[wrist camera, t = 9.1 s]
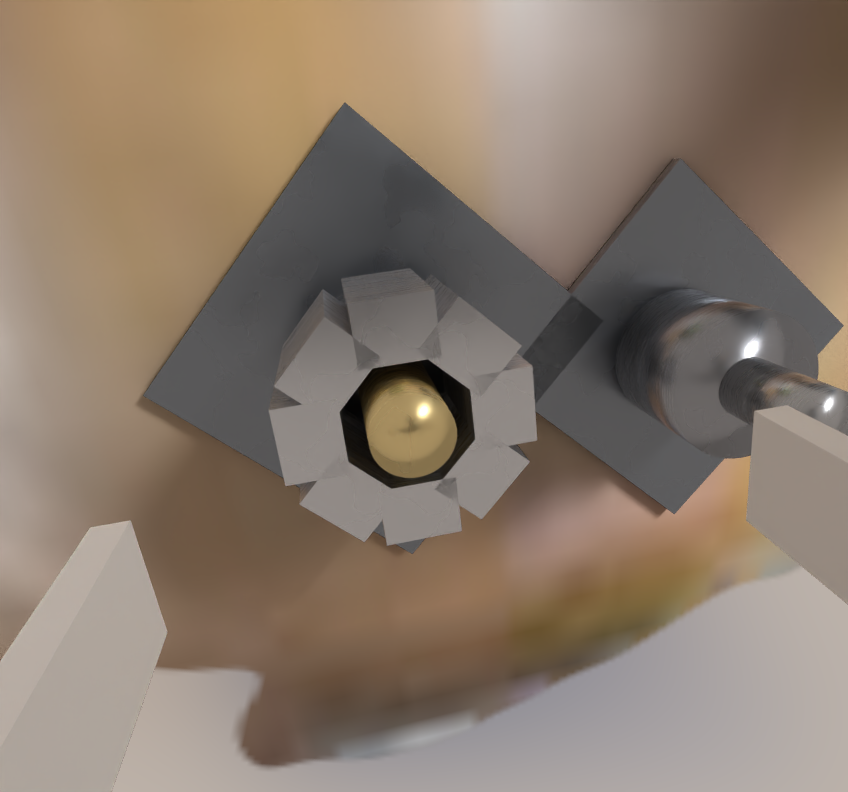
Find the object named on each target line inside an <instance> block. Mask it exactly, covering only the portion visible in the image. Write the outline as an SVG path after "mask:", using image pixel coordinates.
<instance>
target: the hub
mask: <svg viewBox="0 0 848 792" xmlns="http://www.w3.org/2000/svg"><path fill="white" fill-rule="evenodd" d="M408 268H410V269H411V270H412V271H414V272H415V273H416V274H417V275H418V276H419V277H420V278H421V279H422V280H425V279H426V278H427V276H428V275H429V274H431V275H432V276H434V277H435V278H436V279H437V280H439V281H440V282H441V283H443V284H444V285H445V286H446V287H448V288H449V289H450V290H452V291H453V292H454V293H455V294H457V295H458V296H459V297H461V298H462V299H463V300H464V301H466V302H467V303H468V304H469V305H471V306H472V307H473V308H475V309H476V310H477V311H478V312H480V313H481V314H482V315H484V316H485V317H486V318H487V319H489V320H490V321H491V322H492V323H494V324H495V325H496V326H498V327H499V328H500V329H501V330H503V331H504V332H505V333H506V334H508V335H509V336H510V337H511V338H513V339H514V340H515V341H517V342H518V343H519V344H520V345H522V346H521V348H520V349H519V350H518V351H517V353H518V354H519V355H520V356H521V357H522V358H524V357H523V356H524V354H525V357H526V351H527V352H528V351H530V350H531V349H532V348H533V347H534V349H535V350H536V351H538V349H539V347H540V346H541V344H542V345H543V343H544V341H545V339H546V338H543V335H545V336H544V337H546V336H547V335H546V334H544V333H543V335H542V337H541V336H540V335H541V334H540V333H542V332H543V331H545V333H546V332H547V331H546V329H547V328H548V327H549V326H550V325H548V324H549V323H550V321H551V320H552V318H554V319H555V318H556V317H558V316H559V315H560V314H562V313H561V312H560V314H559V315H558V313H559V312H558V311H559V309H560V310H561V311H563V314H564V316H565V312H567V313H568V309H567V308H569V307H570V306H569V307H567V308H566V305H565V304H567V306H568V305H570V304H572V303H571V302H572V301H573V299H572V298H571V297H572V294H571V293H570V292H568V291H567V290H566V289H565V288H564V287H562V286H561V285H560V284H559V283H558V282H557V281H555V280H554V279H553V278H552V277H551V276H549V275H548V274H547V273H546V272H545V271H544V270H542V269H541V268H540V267H539V266H538V265H536V264H535V263H534V262H533V261H532V260H531V259H529V258H528V257H527V256H526V255H525V254H523V253H522V252H521V251H520V250H519V249H518V248H516V247H515V246H514V245H513V244H512V243H510V242H509V241H508V240H507V239H506V238H505V237H503V236H502V235H501V234H500V233H499V232H497V231H496V230H495V229H494V228H493V227H492V226H490V225H489V224H488V223H487V222H486V221H484V220H483V219H482V218H481V217H480V216H479V215H477V214H476V213H475V212H474V211H473V210H471V209H470V208H469V207H468V206H467V205H465V204H464V203H463V202H462V201H461V200H460V199H458V198H457V197H456V196H455V195H454V194H452V193H451V192H450V191H449V190H448V189H447V188H445V187H444V186H443V185H442V184H441V183H439V182H438V181H437V180H436V179H435V178H434V177H432V176H431V175H430V174H429V173H428V172H426V171H425V170H424V169H423V168H422V167H421V166H419V165H418V164H417V163H416V162H415V161H413V160H412V159H411V158H410V157H409V156H408V155H406V154H405V153H404V152H403V151H402V150H400V149H399V148H398V147H397V146H396V145H395V144H393V143H392V142H391V141H390V140H389V139H387V138H386V137H385V136H384V135H383V134H382V133H380V132H379V131H378V130H377V129H376V128H374V127H373V126H372V125H371V124H370V123H368V122H367V121H366V120H365V119H364V118H363V117H361V116H360V115H359V114H358V113H357V112H355V111H354V110H353V109H352V108H351V107H350V106H348V105H347V104H346V103H344V104H343V105H342V107H341V108H340V110H339V111H338V113H337V114H336V116H335V117H334V119H333V120H332V121H331V123H330V124H329V126H328V127H327V129H326V130H325V132H324V133H323V135H322V136H321V137H320V139H319V140H318V142H317V143H316V145H315V146H314V148H313V149H312V151H311V152H310V153H309V155H308V156H307V158H306V159H305V161H304V162H303V164H302V165H301V167H300V168H299V169H298V171H297V172H296V174H295V175H294V177H293V178H292V180H291V181H290V183H289V184H288V186H287V187H286V188H285V190H284V191H283V193H282V194H281V196H280V197H279V199H278V200H277V202H276V203H275V204H274V206H273V207H272V209H271V210H270V212H269V213H268V215H267V216H266V218H265V219H264V220H263V222H262V223H261V225H260V226H259V228H258V229H257V231H256V232H255V234H254V235H253V236H252V238H251V239H250V241H249V242H248V244H247V245H246V247H245V248H244V250H243V251H242V252H241V254H240V255H239V257H238V258H237V260H236V261H235V263H234V264H233V266H232V267H231V268H230V270H229V271H228V273H227V274H226V276H225V277H224V279H223V280H222V282H221V283H220V284H219V286H218V287H217V289H216V290H215V292H214V293H213V295H212V296H211V298H210V299H209V300H208V302H207V303H206V305H205V306H204V308H203V309H202V311H201V312H200V314H199V315H198V316H197V318H196V319H195V321H194V322H193V324H192V325H191V327H190V328H189V330H188V331H187V332H186V334H185V335H184V337H183V338H182V340H181V341H180V343H179V344H178V346H177V347H176V348H175V350H174V351H173V353H172V354H171V356H170V357H169V359H168V360H167V362H166V363H165V364H164V366H163V367H162V369H161V370H160V372H159V373H158V375H157V376H156V378H155V379H154V381H153V382H152V383H151V385H150V386H149V388H148V389H147V391H146V392H145V394H144V395H143V396H144V397H146V398H148V399H150V400H151V401H153V402H155V403H156V404H158V405H160V406H161V407H163V408H165V409H167V410H168V411H170V412H172V413H173V414H175V415H177V416H178V417H180V418H182V419H184V420H185V421H187V422H189V423H190V424H192V425H194V426H195V427H197V428H199V429H201V430H202V431H204V432H206V433H207V434H209V435H211V436H212V437H214V438H216V439H218V440H219V441H221V442H223V443H224V444H226V445H228V446H229V447H231V448H233V449H235V450H236V451H238V452H240V453H241V454H243V455H245V456H246V457H248V458H250V459H252V460H253V461H255V462H257V463H258V464H260V465H262V466H263V467H265V468H267V469H269V470H270V471H272V472H274V473H275V474H277V475H279V476H280V477H282V478H283V473H282V469H281V464H280V460H279V455H278V450H277V446H276V441H275V437H274V432H273V428H272V423H271V419H270V414H269V406H270V402H271V397H272V392H273V388H274V383H275V378H276V374H277V369H278V365H279V360H280V355H281V351H282V346H283V344H284V342H285V341H286V340H287V338H288V337H289V335H290V334H291V333H292V331H293V330H294V328H295V327H296V326H297V324H298V323H299V322H300V320H301V319H302V317H303V316H304V315H305V313H306V312H307V310H308V309H309V308H310V306H311V305H312V304H313V302H314V301H315V299H316V298H317V297H318V295H319V294H320V292H321V291H322V290H325V291H326V292H328V293H329V294H330V295H332V296H333V297H335V298H336V299H337V300H339V301H340V302H342V303H343V304H344V305H345V300H344V294H343V288H342V281H341V278H346V277H353V276H360V275H366V274H373V273H380V272H387V271H394V270H401V269H408ZM568 298H569V299H568ZM570 298H571V300H572V301H571V302H569V303H570V304H568V301H570ZM575 300H576V298H575V299H574V301H575ZM566 301H567V302H566ZM574 301H573V303H575V302H576V301H575V302H574ZM577 301H579V300H577ZM565 302H566V303H565ZM579 302H580V301H579ZM579 302H578V303H579ZM564 303H565V304H564ZM578 303H575V304H576V305H578ZM563 304H564V305H565V309H567V311H565V312H564V308H562V306H564V305H563ZM575 304H574V305H575ZM579 304H582V305H584V304H583V303H579ZM572 305H573V304H572ZM572 305H571V306H572ZM573 307H574V306H572V308H573ZM575 307H576V308H578V306H575ZM575 307H574V308H573V309H572V310H569V313H570V312H572V311H573V312H574V313H575V312H576V311H578V313H579V312H580V309H581V310H583V311H585V310H584V309H583V308H584V307H586V306H584V307H583V306H580V307H579V308H580V309H579V310H578V309H575ZM581 307H583V308H581ZM569 309H571V307H570V308H569ZM585 309H586V310H587V309H588V308H585ZM574 310H576V311H574ZM583 311H582V313H583ZM588 311H589V312H588V313H589V314H590V315H591V313H592V312H591V311H590V310H588ZM557 312H558V313H557ZM573 312H572V313H571V314H572V316H574V315H573ZM585 312H586V311H585ZM585 312H584V313H585ZM590 312H591V313H590ZM578 313H577V312H576V313H575V315H576V314H577V315H578ZM580 313H581V312H580ZM582 313H581V314H580V316H581V317H582V316H583V317H582V318H584V315H582ZM588 313H585V314H586V315H588ZM563 314H562V315H560V316H561V317H563V318H562V320H560V319H561V317H558V319H559V318H560V319H559V320H560V321H562V324H565V325H566V326H567V324H566V321H568V323H569V320H567V319H569V318H570V319H571V320H570V321H571V322H572V323H573V322H574V323H573V324H575V322H576V321H578V320H577V319H578V318H579V316H578V318H577V317H576V316H577V315H576V316H575V317H576V318H577V319H576V318H575V317H574V318H573V317H569V318H568V315H567V314H566V316H567V319H566V320H565V318H564V316H563ZM571 314H570V315H571ZM555 315H558V316H555ZM590 315H589V316H590ZM592 315H593V313H592ZM554 316H555V317H554ZM589 316H588V317H587V316H586V317H585V318H586V319H585V318H584V319H585V321H586V323H587V321H588V320H587V319H588V318H589ZM594 316H595V314H594ZM592 317H593V316H592ZM572 318H573V320H574V319H576V320H575V321H573V320H572ZM593 318H595V320H597V321H594V319H592V318H591V317H590V319H591V320H593V321H594V324H595V323H596V322H597V323H596V324H597V325H598V323H599V321H600V320H601V319H600V318H599V317H598V318H599V319H600V320H598V319H596V318H597V317H593ZM554 319H553V320H554ZM563 319H564V321H563ZM590 319H589V320H590ZM582 320H583V319H581V318H580V320H579V321H581V322H582V323H584V322H583V321H582ZM593 321H592V323H593ZM602 321H603V320H602ZM556 322H557V323H558V324H559V322H558V321H557V319H556V321H555V323H556ZM563 322H565V323H563ZM581 322H580V324H582V323H581ZM552 323H554V321H553V322H552ZM555 323H554V324H555ZM576 323H578V324H579V322H576ZM586 323H585V324H586ZM588 323H589V324H590V323H591V322H590V321H588ZM592 323H591V324H590V325H592V327H593V328H594V326H593V324H592ZM550 324H551V323H550ZM554 324H553V326H554ZM560 324H561V323H560ZM562 324H561V325H562ZM585 324H583V325H585ZM600 324H601V323H599V325H598V326H600ZM547 325H548V327H547ZM575 325H576V324H575ZM583 325H581V326H583ZM590 325H588V324H586V326H588V327H589V326H590ZM597 325H595V327H596V326H597ZM551 326H552V325H551ZM551 326H550V329H551ZM555 326H556V327H557V330H558V329H559V327H558V326H560V325H558V326H557V324H555ZM555 326H554V327H555ZM566 326H565V328H566ZM569 326H570V327H568V326H567V328H566V329H570V328H571V327H573V328H572V329H573V330H572V329H570V330H571V331H576V330H575V329H576V328H575V329H574V327H577V328H580V326H579V325H578V326H579V327H578V326H577V325H576V326H573V325H572V324H571V325H570V324H569ZM546 327H547V328H546ZM554 327H552V329H553V331H554V332H555V333H556V335H557V333H558V336H560V337H561V336H562V335H560V334H561V333H560V334H559V331H560V330H561V329H559V331H558V332H557V331H555V329H554ZM556 327H555V328H556ZM561 327H562V328H563V329H564V327H563V325H562V326H561ZM561 327H560V328H561ZM583 327H584V326H583ZM583 327H581V328H580V330H579V332H578V330H577V332H578V333H579V335H580V331H582V330H581V329H583ZM588 327H587V328H588ZM590 327H591V326H590ZM545 328H546V329H545ZM585 328H586V327H584V329H583V330H585ZM587 328H586V330H587ZM543 329H544V330H543ZM548 329H549V328H548ZM563 329H562V330H563ZM589 329H591V328H589ZM589 329H588V330H589ZM594 329H596V328H594ZM586 330H585V331H584V332H583V333H585V332H586ZM588 330H587V332H588ZM563 331H565V329H564V330H563ZM593 331H594V330H593ZM549 332H550V330H549V331H548V333H547V334H548V335H549ZM560 332H562V331H560ZM569 332H570V331H569ZM569 332H567V330H566V331H565V333H567V334H569ZM591 332H592V329H591ZM591 332H589V334H588V335H589V337H590V336H592V334H590V333H591ZM594 332H595V331H594ZM551 333H552V331H551ZM565 333H562V334H564V335H565V336H566V334H565ZM572 333H573V332H572ZM572 333H571V336H570V334H569V335H567V336H566V337H569V336H570V337H571V340H574V339H575V338H578V339H579V338H581V337H580V336H583V335H584V336H585V338H586V339H587V340H588V336H586V335H585V334H583V335H582V334H581V335H580V336H577V334H575V333H576V332H575V333H574V334H575V335H576V336H577V337H576V336H575V338H574V339H573V338H572ZM552 334H553V335H554V333H552ZM574 334H573V336H574ZM556 335H555V336H556ZM564 335H563V336H564ZM549 336H550V335H549ZM549 336H548V338H550V337H552V338H553V336H552V335H551V336H550V337H549ZM555 336H554V337H555ZM537 337H538V338H539V337H540V338H543V339H544V340H543V343H540V342H541V341H540V338H539V341H538V343H540V346H539V345H537V347H538V346H539V347H538V348H537V347H536V346H535V345H536V344H538V343H537V342H536V343H535V342H534V341H535V339H536V338H537ZM548 338H547V339H546V340H548V342H549V339H548ZM552 338H551V339H552ZM582 338H584V337H582ZM582 338H581V339H582ZM555 339H557V341H558V340H560V339H561V338H560V339H559V337H557V336H556V337H555ZM555 339H552V340H551V341H553V340H554V341H553V342H551V343H553V344H550V343H548V344H550V345H553V346H552V347H550V346H548V345H547V344H546V341H545V344H546V346H547V348H546V346H545V348H544V345H543V346H542V347H543V349H544V350H545V349H548V347H549V348H551V349H552V348H553V347H554V346H555V347H556V348H557V347H558V346H559V347H560V349H557V351H556V352H558V354H560V355H561V354H562V355H563V354H564V353H566V351H568V350H566V351H565V350H564V349H563V350H564V351H565V352H564V351H562V353H559V351H560V350H561V349H562V347H561V346H562V345H561V344H563V343H564V344H563V346H564V345H565V344H566V345H569V344H567V343H568V342H567V341H566V342H567V343H565V340H564V339H563V337H562V339H563V340H564V342H563V340H562V342H563V343H562V342H561V344H560V341H559V342H557V341H556V340H555ZM567 339H568V340H569V339H570V338H567ZM567 339H566V340H567ZM578 339H576V340H577V341H578ZM581 339H580V341H579V342H577V341H576V340H575V343H574V344H573V341H571V342H569V343H570V345H571V344H573V346H575V347H577V346H578V345H579V343H580V344H581V343H582V344H585V342H586V341H587V340H585V342H584V343H583V342H581ZM536 340H537V339H536ZM583 340H584V339H583ZM555 341H556V343H557V344H558V343H559V344H558V346H556V344H554V343H555ZM532 343H533V344H534V343H535V345H534V346H533V347H531V348H529V347H530V346H532ZM576 343H578V345H577V346H576V345H575V344H576ZM560 345H561V346H560ZM570 345H569V346H570ZM569 346H566V348H567V347H569ZM571 346H572V345H571ZM573 346H572V347H571V348H570V349H572V348H573ZM579 346H580V348H582V347H581V345H579ZM582 346H583V345H582ZM535 347H536V348H537V349H536V348H535ZM555 347H554V348H553V349H554V350H553V349H552V350H553V351H552V352H554V353H555ZM564 347H565V346H564ZM528 348H529V349H530V350H527V349H528ZM570 349H569V351H571V350H570ZM576 349H578V348H576ZM576 349H575V351H576ZM539 350H541V347H540V349H539ZM544 350H543V351H542V352H543V355H542V354H539V353H540V352H539V351H538V352H539V353H538V355H539V356H541V355H542V356H543V357H544V355H545V353H546V354H547V352H545V351H547V350H545V351H544ZM548 350H550V349H548ZM558 350H559V351H558ZM536 351H534V350H532V353H533V352H534V354H533V355H535V358H538V359H539V358H540V357H537V356H536V353H537V352H536ZM569 351H568V352H569ZM578 351H579V349H578ZM530 352H531V351H530ZM535 352H536V353H535ZM549 352H550V351H549ZM560 352H561V351H560ZM573 352H574V349H573ZM576 352H577V351H576ZM576 352H574V353H575V355H576V354H577V353H578V352H577V353H576ZM532 353H531V354H532ZM550 353H551V352H550ZM550 353H549V355H550V356H551V357H553V359H554V356H557V354H556V353H555V355H553V354H552V353H551V354H550ZM527 354H529V355H528V356H527V357H528V358H529V359H527V358H526V361H527V360H529V361H531V359H532V358H534V357H532V356H533V355H531V354H530V353H527ZM568 354H569V353H566V355H565V356H569V355H570V354H569V355H568ZM571 354H572V353H571ZM530 355H531V356H530ZM549 355H546V356H548V358H549V359H550V361H549V363H548V360H547V359H548V358H547V357H545V358H546V359H544V360H545V361H547V363H548V364H549V365H550V362H551V358H550V356H549ZM529 356H530V357H531V358H530V357H529ZM563 356H564V355H563ZM565 356H564V357H562V356H561V357H562V358H563V359H564V358H565ZM543 357H541V358H542V359H543ZM557 357H560V356H557ZM557 357H556V358H555V359H556V361H555V363H556V362H557ZM561 357H560V358H558V360H560V359H562V358H561ZM570 357H571V356H570ZM570 357H569V359H570V360H572V359H571V358H570ZM535 358H534V359H532V360H534V361H536V359H535ZM541 358H540V361H541ZM567 358H568V357H567ZM567 358H565V360H567V362H568V361H570V360H569V359H567ZM572 358H573V357H572ZM563 359H562V360H563ZM562 360H560V361H561V362H562V363H564V365H565V364H566V363H565V362H564V360H563V361H562ZM537 361H539V360H537ZM541 362H542V361H541ZM543 362H544V361H543ZM543 362H542V364H543ZM553 362H554V360H552V364H553ZM558 362H559V361H558ZM528 363H529V362H528ZM535 363H536V364H537V362H535ZM535 363H534V364H533V362H532V363H531V362H530V364H533V365H535ZM544 363H545V362H544ZM555 363H554V364H553V366H555V365H556V366H557V367H558V366H559V365H558V364H555ZM562 363H561V365H562ZM542 364H540V363H539V362H538V364H537V365H538V367H539V368H541V366H542ZM548 364H547V365H548ZM559 364H560V362H559ZM567 364H568V363H567ZM537 365H535V366H536V367H537ZM539 365H540V366H539ZM543 365H544V364H543ZM547 365H546V364H545V366H544V367H545V368H544V367H543V366H542V367H543V368H544V369H546V367H547ZM561 365H560V366H561ZM551 366H552V365H551ZM551 366H550V367H551ZM556 366H555V367H552V368H554V369H556V368H557V367H556ZM548 367H549V366H548ZM548 367H547V370H548ZM561 367H562V368H563V366H561ZM565 367H566V366H565ZM543 368H541V370H542V369H543ZM552 368H551V369H552ZM562 368H561V369H562ZM544 369H543V370H544ZM549 369H550V368H549ZM551 369H550V370H551ZM559 369H560V368H559V367H558V370H559ZM561 369H560V370H561ZM564 369H565V368H564ZM533 370H534V368H533ZM541 370H540V369H538V371H540V372H539V373H540V374H539V373H538V372H537V369H536V368H535V370H534V372H535V371H536V372H535V373H538V377H539V376H540V377H541ZM544 371H545V370H544ZM548 371H549V370H548ZM556 371H557V370H556ZM556 371H555V372H554V371H551V372H552V373H551V374H552V376H553V375H554V374H555V373H556ZM562 371H563V370H562ZM562 371H559V372H562ZM546 372H547V371H546ZM546 372H543V373H542V375H543V374H544V373H546ZM549 372H550V371H549ZM549 372H548V373H549ZM553 372H554V374H553ZM557 372H558V371H557ZM559 372H558V374H557V373H556V374H557V375H558V376H559V375H560V373H559ZM535 373H534V374H533V376H535V377H534V378H535V379H536V378H537V376H536V375H535ZM556 374H555V376H556ZM548 375H549V377H548V376H546V374H545V375H544V376H542V378H543V377H544V378H543V379H542V378H541V379H542V380H543V382H545V383H547V382H546V381H544V380H550V379H547V378H551V375H550V374H548ZM545 376H546V377H547V378H546V377H545ZM558 376H556V378H557V377H558ZM540 377H539V379H540ZM554 378H555V377H554ZM552 379H553V377H552V378H551V380H552ZM537 380H538V378H537V379H536V380H535V382H534V384H536V385H539V384H540V382H542V381H540V380H539V381H540V382H539V384H537V383H538V382H537V383H536V381H537ZM553 380H554V381H555V379H553ZM553 380H552V381H553ZM533 381H534V379H533ZM554 381H553V382H554ZM548 382H549V383H550V382H551V381H548ZM545 383H544V384H543V383H541V384H540V385H539V386H544V387H545ZM549 383H547V384H548V385H546V386H548V387H547V388H549V387H550V386H549ZM551 384H552V382H551ZM535 387H536V386H534V388H535ZM539 388H540V387H538V389H539ZM541 388H542V390H541V389H540V390H541V391H543V392H544V389H543V387H541ZM547 388H546V389H547ZM536 389H537V388H536ZM536 389H534V391H538V392H539V393H540V395H541V396H542V394H541V391H540V390H536ZM444 390H445V388H444V380H443V371H442V369H441V368H439V367H438V366H437V365H435V364H434V363H432V362H431V361H430V360H428V359H427V360H420V361H414V362H408V363H402V364H396V365H390V366H384V367H378V368H372V370H371V371H370V372H369V374H368V375H367V376H366V378H365V379H364V380H363V382H362V383H361V384H360V386H359V387H358V388H357V390H356V391H355V392H354V393H353V395H352V396H351V397H350V399H349V400H348V401H347V403H346V404H345V405H344V407H343V408H344V409H346V410H347V411H349V412H350V413H352V414H353V415H355V416H356V417H358V418H359V419H361V420H362V421H364V423H365V428H366V433H367V438H368V443H369V448H370V451H371V454H372V456H373V458H374V460H375V461H376V462H377V464H378V465H379V466H380V467H381V468H383V469H384V470H385V471H387V472H389V473H390V474H393V475H395V476H399V477H404V478H416V477H422V476H425V475H428V474H430V473H432V472H434V471H436V470H437V469H439V468H440V467H441V466H442V465H444V464H445V462H446V461H447V460H448V459H449V458H450V456H451V454H452V453H453V451H454V448H455V445H456V441H457V427H456V423H455V420H454V418H453V416H452V414H451V412H450V410H449V409H448V407H447V405H446V404H445V402H444V400H443V398H442V397H441V394H442V393H443V392H444ZM544 393H545V392H544ZM544 393H543V394H544ZM537 394H538V393H537ZM534 395H535V396H536V394H535V392H534ZM540 395H537V396H538V397H539V396H540ZM535 396H534V397H535ZM537 396H536V397H537ZM540 398H541V397H540ZM540 398H538V399H540ZM535 399H536V398H535ZM536 400H537V399H536ZM536 400H535V402H536V403H537V401H536ZM536 403H535V404H536ZM295 485H296V486H298V487H299V488H300V484H295ZM374 532H376V533H377V534H379V535H381V536H383V537H384V538H385V532H384V527H383V522H382V521H381V522H380V524H379V525H378V526H377V527H376V529H375V530H374ZM424 539H425V538H424ZM424 539H419V540H414V541H409V542H403V543H398V544H396V545H398V546H400V547H401V548H403V549H405V550H406V551H408V552H410V553H411V554H413V553H414V551H415V550H416V549H417V548H418V547H419V545H420V544H421V543H422V542H423V540H424Z"/></svg>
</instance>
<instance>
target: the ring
mask: <svg viewBox="0 0 848 792" xmlns="http://www.w3.org/2000/svg"><path fill="white" fill-rule="evenodd" d="M341 281H342V288H343V294H344V300H345V305H344V304H343V303H342V302H340V301H339V300H337V299H336V298H335V297H333V296H332V295H330V294H329V293H328V292H326V291H325V290H322V291H321V292H320V294H319V295H318V297H317V298H316V299H315V301H314V302H313V304H312V305H311V306H310V308H309V309H308V310H307V312H306V313H305V315H304V316H303V317H302V319H301V320H300V322H299V323H298V324H297V326H296V327H295V328H294V330H293V331H292V333H291V334H290V335H289V337H288V338H287V340H286V341H285V342H284V344H283V346H282V351H281V355H280V360H279V365H278V369H277V374H276V378H275V383H274V388H273V392H272V397H271V402H270V406H269V414H270V419H271V423H272V428H273V432H274V437H275V441H276V446H277V450H278V455H279V460H280V464H281V469H282V473H283V478H284V482H285V486H290V485H295V484H300V499H299V505H301V506H303V507H304V508H306V509H308V510H310V511H311V512H313V513H315V514H317V515H318V516H320V517H322V518H324V519H325V520H327V521H329V522H330V523H332V524H334V525H336V526H337V527H339V528H341V529H343V530H344V531H346V532H348V533H349V534H351V535H353V536H355V537H356V538H358V539H360V540H362V541H363V542H365V541H366V540H367V539H368V537H369V536H370V535H371V534H372V532H373V531H374V530H375V529H376V527H377V526H378V525H379V524H380V522H381V521H382V522H383V527H384V532H385V538H386V543H387V546H388V545H393V544H398V543H403V542H409V541H414V540H419V539H424V538H429V537H434V536H439V535H444V534H449V533H455V532H460V531H462V527H461V518H460V509H459V505H460V506H461V507H463V508H465V509H466V510H468V511H469V512H471V513H472V514H474V515H475V516H477V517H479V518H480V519H482V518H483V517H484V516H485V515H486V514H487V513H488V511H489V510H490V509H491V508H492V507H493V505H494V504H495V503H496V502H497V501H498V499H499V498H500V497H501V496H502V495H503V493H504V492H505V491H506V490H507V489H508V487H509V486H510V485H511V484H512V483H513V481H514V480H515V479H516V478H517V477H518V475H519V474H520V473H521V472H522V471H523V469H524V468H525V467H526V466H527V465H528V463H529V462H530V461H529V460H528V458H527V457H526V456H525V455H524V453H523V452H522V451H521V449H520V448H519V447H518V445H517V444H521V443H526V442H532V441H537V428H536V412H535V397H534V381H533V366H532V365H531V364H529V363H528V362H527V361H526V360H525V359H524V358H522V357H521V356H520V355H519V354H518V353H517V351H518V350H519V349H520V348H521V346H522V345H520V344H519V343H518V342H517V341H515V340H514V339H513V338H511V337H510V336H509V335H508V334H506V333H505V332H504V331H503V330H501V329H500V328H499V327H498V326H496V325H495V324H494V323H492V322H491V321H490V320H489V319H487V318H486V317H485V316H484V315H482V314H481V313H480V312H478V311H477V310H476V309H475V308H473V307H472V306H471V305H469V304H468V303H467V302H466V301H464V300H463V299H462V298H461V297H459V296H458V295H457V294H455V293H454V292H453V291H452V290H450V289H449V288H448V287H446V286H445V285H444V284H443V283H441V282H440V281H439V280H437V279H436V278H435V277H434V276H432V275H431V274H429V275H428V276H427V278H426V279H425V280H422V279H421V278H420V277H419V276H418V275H417V274H416V273H415V272H414V271H412V270H411V269H410V268H408V269H401V270H394V271H387V272H380V273H373V274H366V275H360V276H353V277H346V278H341ZM427 359H428V360H430V361H431V362H432V363H434V364H435V365H437V366H438V367H439V368H441V369H442V371H443V380H444V388H445V390H444V392H443V393H442V394H441V397H442V398H443V400H444V402H445V404H446V405H447V407H448V409H449V410H450V412H451V414H452V416H453V418H454V420H455V423H456V427H457V441H456V445H455V448H454V451H453V453H452V454H451V456H450V458H449V459H448V460H447V461H446V462H445V464H444V465H442V466H441V467H440V468H439V469H437V470H436V471H434V472H432V473H430V474H428V475H425V476H422V477H416V478H404V477H399V476H395V475H393V474H390V473H389V472H387V471H385V470H384V469H383V468H381V467H380V466H379V465H378V464H377V462H376V461H375V460H374V458H373V456H372V454H371V451H370V448H369V443H368V438H367V433H366V428H365V423H364V421H362V420H361V419H359V418H358V417H356V416H355V415H353V414H352V413H350V412H349V411H347V410H346V409H344V408H343V407H344V405H345V404H346V403H347V401H348V400H349V399H350V397H351V396H352V395H353V393H354V392H355V391H356V390H357V388H358V387H359V386H360V384H361V383H362V382H363V380H364V379H365V378H366V376H367V375H368V374H369V372H370V371H371V370H372V368H378V367H384V366H390V365H396V364H402V363H408V362H414V361H420V360H427Z"/></svg>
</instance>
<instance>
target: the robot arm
mask: <svg viewBox="0 0 848 792" xmlns="http://www.w3.org/2000/svg"><path fill="white" fill-rule="evenodd" d="M746 521H747V522H749V523H750V524H751V525H752V526H753V527H755V528H756V529H757V530H758V531H759V532H761V533H762V534H763V535H764V536H765V537H767V538H768V539H769V540H770V541H772V542H773V543H774V544H775V545H776V546H778V547H779V548H780V549H781V550H782V551H784V552H785V553H786V554H787V555H788V556H790V557H791V558H792V559H793V560H794V561H796V562H797V563H798V564H799V565H801V566H802V567H803V568H804V569H805V570H807V571H808V572H809V573H810V574H811V575H813V576H814V577H815V578H816V579H818V580H819V581H820V582H821V583H822V584H824V585H825V586H826V587H827V588H828V589H830V590H831V591H832V592H833V593H834V594H836V595H837V596H838V597H839V598H841V599H842V600H843V601H844V602H845V603H847V604H848V436H847V435H845V434H843V433H841V432H839V431H837V430H835V429H833V428H831V427H829V426H827V425H825V424H823V423H821V422H819V421H817V420H815V419H813V418H811V417H809V416H807V415H806V414H804V413H802V412H800V411H798V410H796V409H794V408H792V407H790V406H788V405H785V406H780V407H774V408H768V409H763V410H757V411H754V420H753V434H752V448H751V462H750V475H749V489H748V503H747V516H746ZM167 633H168V632H167V629H166V626H165V623H164V620H163V617H162V614H161V611H160V608H159V605H158V602H157V599H156V596H155V593H154V590H153V587H152V584H151V581H150V578H149V574H148V571H147V568H146V565H145V562H144V559H143V556H142V553H141V550H140V547H139V544H138V541H137V538H136V535H135V532H134V529H133V526H132V523H131V520H130V521H124V522H118V523H113V524H107V525H101V526H96V527H90V529H89V530H88V532H87V533H86V535H85V536H84V537H83V539H82V540H81V542H80V543H79V545H78V546H77V548H76V549H75V551H74V552H73V554H72V555H71V557H70V558H69V560H68V561H67V563H66V564H65V566H64V567H63V569H62V570H61V572H60V573H59V575H58V576H57V578H56V579H55V580H54V582H53V583H52V585H51V586H50V588H49V589H48V591H47V592H46V594H45V595H44V597H43V598H42V600H41V601H40V603H39V604H38V606H37V607H36V609H35V610H34V612H33V613H32V615H31V616H30V618H29V619H28V621H27V622H26V624H25V625H24V626H23V628H22V629H21V631H20V632H19V634H18V635H17V637H16V638H15V640H14V641H13V643H12V644H11V646H10V647H9V649H8V650H7V652H6V653H5V655H4V656H3V658H2V659H1V661H0V792H112V789H113V787H114V783H115V781H116V778H117V775H118V772H119V769H120V766H121V763H122V761H123V758H124V755H125V752H126V749H127V747H128V744H129V741H130V738H131V735H132V732H133V729H134V727H135V724H136V721H137V718H138V715H139V712H140V709H141V707H142V704H143V701H144V698H145V695H146V692H147V689H148V687H149V684H150V681H151V678H152V675H153V672H154V670H155V667H156V664H157V661H158V658H159V655H160V652H161V650H162V647H163V644H164V641H165V638H166V635H167Z"/></svg>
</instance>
